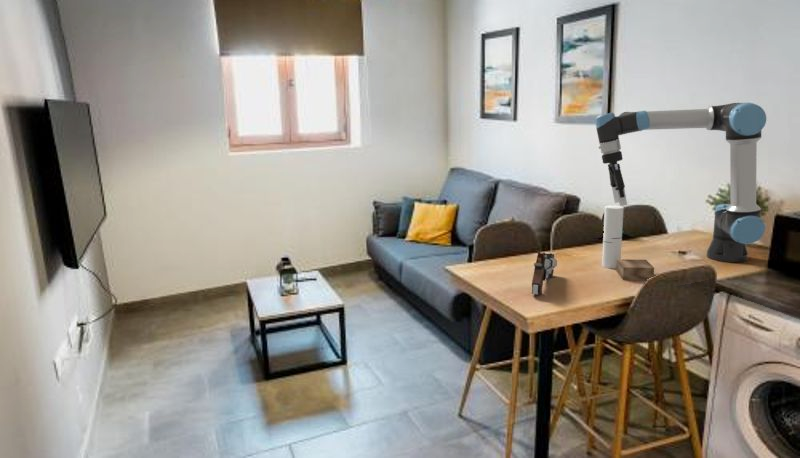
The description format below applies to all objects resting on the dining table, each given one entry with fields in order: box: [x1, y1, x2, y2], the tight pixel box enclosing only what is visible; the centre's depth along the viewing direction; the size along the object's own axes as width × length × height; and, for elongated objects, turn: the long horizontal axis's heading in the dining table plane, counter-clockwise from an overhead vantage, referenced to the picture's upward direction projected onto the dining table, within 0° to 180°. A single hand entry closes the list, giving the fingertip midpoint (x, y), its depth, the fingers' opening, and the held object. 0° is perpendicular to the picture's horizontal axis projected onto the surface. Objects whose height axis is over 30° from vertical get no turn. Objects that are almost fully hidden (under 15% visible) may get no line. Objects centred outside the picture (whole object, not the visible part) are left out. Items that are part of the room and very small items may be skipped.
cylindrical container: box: [601, 204, 624, 269], centre depth 226 cm, size 7×7×25 cm
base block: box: [615, 258, 655, 281], centre depth 215 cm, size 11×11×5 cm
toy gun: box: [531, 251, 558, 296], centre depth 208 cm, size 5×28×15 cm, turn 154°
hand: (620, 204), depth 223 cm, fingers open, 13 cm apart
